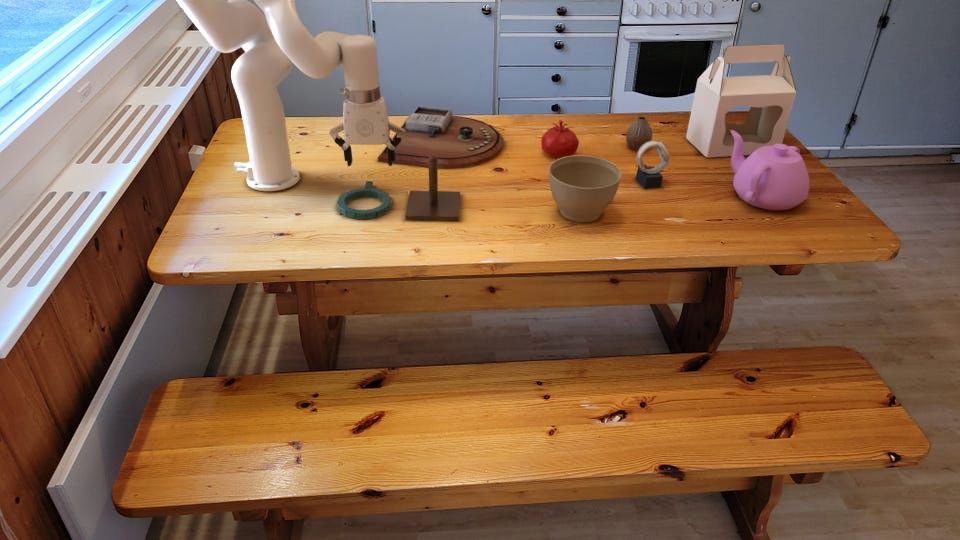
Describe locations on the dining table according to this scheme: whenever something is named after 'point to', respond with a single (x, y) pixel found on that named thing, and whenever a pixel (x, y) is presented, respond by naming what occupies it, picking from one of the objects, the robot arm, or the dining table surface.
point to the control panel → (444, 140)
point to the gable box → (742, 102)
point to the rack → (433, 200)
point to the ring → (364, 192)
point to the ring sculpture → (651, 175)
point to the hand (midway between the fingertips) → (370, 163)
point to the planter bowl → (583, 186)
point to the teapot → (770, 175)
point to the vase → (638, 133)
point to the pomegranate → (559, 141)
